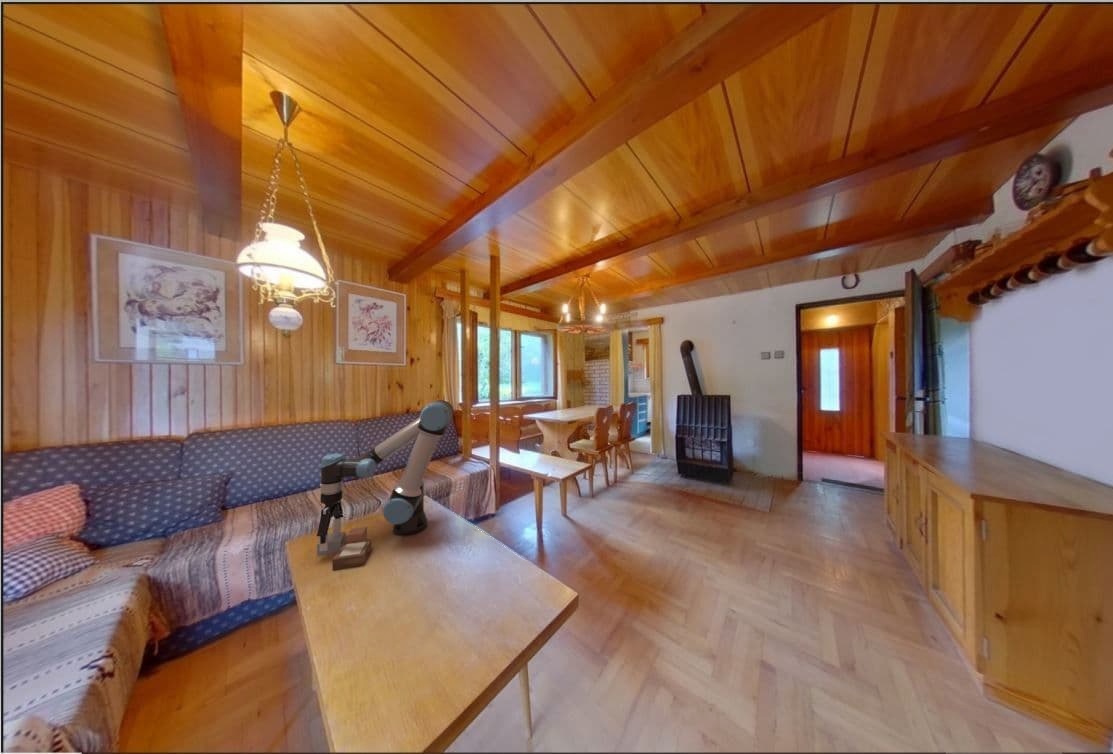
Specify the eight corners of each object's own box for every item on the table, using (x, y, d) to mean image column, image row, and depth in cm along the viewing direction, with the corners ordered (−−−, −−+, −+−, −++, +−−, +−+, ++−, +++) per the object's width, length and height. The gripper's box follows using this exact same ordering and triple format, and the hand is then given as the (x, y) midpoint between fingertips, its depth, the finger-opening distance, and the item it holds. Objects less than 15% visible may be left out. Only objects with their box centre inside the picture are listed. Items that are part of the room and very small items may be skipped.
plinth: (344, 552, 128) (344, 542, 128) (371, 548, 131) (371, 539, 131) (332, 570, 116) (332, 559, 116) (362, 565, 119) (362, 555, 119)
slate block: (323, 546, 133) (323, 534, 133) (345, 542, 136) (345, 531, 136) (317, 556, 125) (317, 544, 125) (340, 552, 128) (340, 540, 128)
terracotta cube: (351, 541, 136) (351, 528, 136) (366, 539, 138) (366, 526, 138) (346, 549, 131) (346, 535, 130) (362, 546, 132) (362, 533, 132)
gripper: (333, 482, 141) (332, 528, 141) (307, 504, 117) (305, 559, 118) (351, 481, 143) (350, 526, 144) (330, 502, 120) (328, 557, 120)
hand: (330, 541), depth 131 cm, fingers open, 13 cm apart
